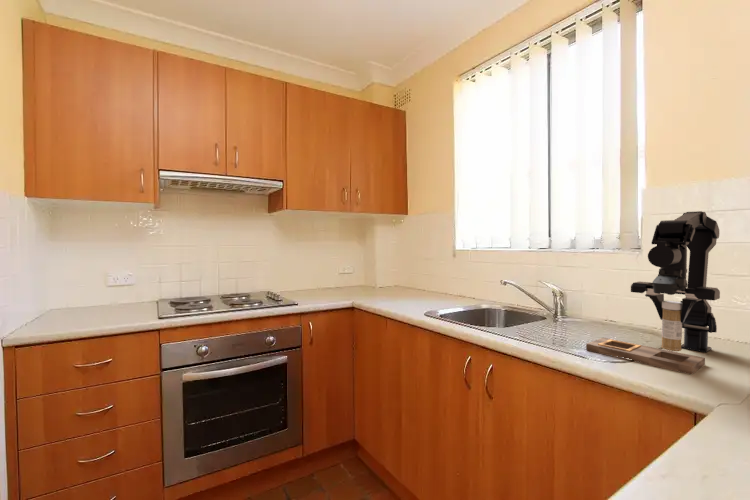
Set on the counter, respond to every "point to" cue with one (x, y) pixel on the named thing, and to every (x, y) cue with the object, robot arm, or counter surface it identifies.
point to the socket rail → (648, 355)
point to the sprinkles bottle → (671, 325)
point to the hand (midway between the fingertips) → (671, 320)
